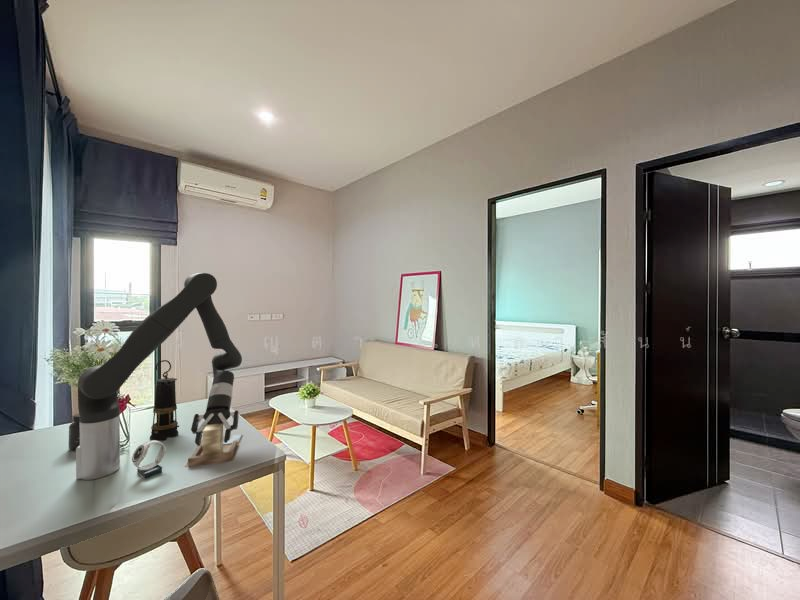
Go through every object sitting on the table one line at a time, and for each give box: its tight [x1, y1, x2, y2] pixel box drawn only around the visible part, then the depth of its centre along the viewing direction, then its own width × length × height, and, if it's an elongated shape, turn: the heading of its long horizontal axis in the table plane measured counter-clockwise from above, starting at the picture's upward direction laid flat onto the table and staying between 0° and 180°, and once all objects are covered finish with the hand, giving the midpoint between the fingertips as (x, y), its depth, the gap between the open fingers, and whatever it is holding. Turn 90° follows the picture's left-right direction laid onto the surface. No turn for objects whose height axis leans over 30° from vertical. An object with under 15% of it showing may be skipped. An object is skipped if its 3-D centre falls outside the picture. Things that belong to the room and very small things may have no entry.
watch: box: [131, 440, 167, 480], centre depth 98 cm, size 6×8×11 cm
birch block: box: [202, 423, 224, 455], centre depth 109 cm, size 5×5×10 cm
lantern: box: [149, 359, 180, 442], centre depth 127 cm, size 9×9×30 cm
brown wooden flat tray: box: [184, 434, 244, 468], centre depth 114 cm, size 14×20×4 cm
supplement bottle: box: [68, 413, 80, 452], centre depth 117 cm, size 7×7×12 cm
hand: (212, 443), depth 108 cm, fingers open, 7 cm apart
